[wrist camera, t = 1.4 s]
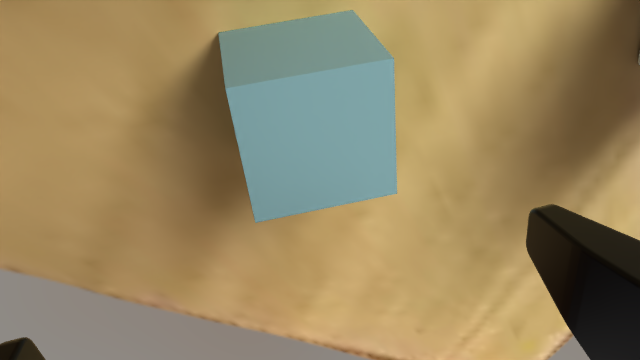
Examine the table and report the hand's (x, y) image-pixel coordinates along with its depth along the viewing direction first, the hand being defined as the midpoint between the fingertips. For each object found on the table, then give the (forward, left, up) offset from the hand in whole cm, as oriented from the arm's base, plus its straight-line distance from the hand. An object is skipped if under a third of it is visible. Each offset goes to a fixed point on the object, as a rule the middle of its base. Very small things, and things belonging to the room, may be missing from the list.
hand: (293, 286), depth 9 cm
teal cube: (-2, +2, -13) cm, 13 cm away
